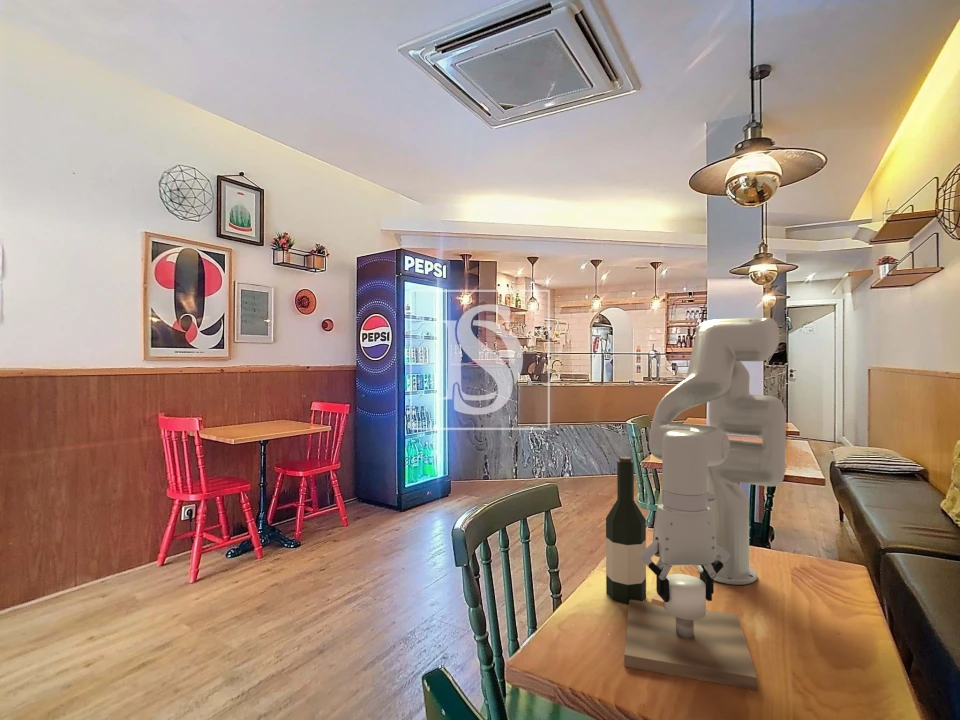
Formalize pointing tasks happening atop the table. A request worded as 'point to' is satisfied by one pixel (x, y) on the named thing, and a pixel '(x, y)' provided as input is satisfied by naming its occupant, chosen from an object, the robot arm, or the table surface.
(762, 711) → the table surface
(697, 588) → the light bulb
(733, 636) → the post board
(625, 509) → the wine bottle
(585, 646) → the table surface
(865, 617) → the table surface
